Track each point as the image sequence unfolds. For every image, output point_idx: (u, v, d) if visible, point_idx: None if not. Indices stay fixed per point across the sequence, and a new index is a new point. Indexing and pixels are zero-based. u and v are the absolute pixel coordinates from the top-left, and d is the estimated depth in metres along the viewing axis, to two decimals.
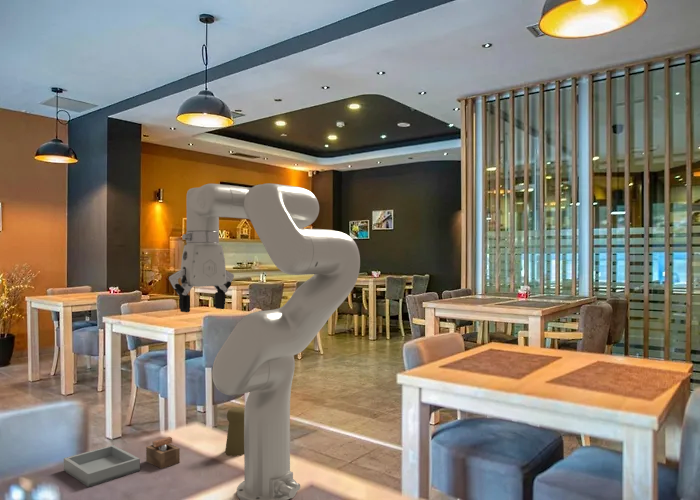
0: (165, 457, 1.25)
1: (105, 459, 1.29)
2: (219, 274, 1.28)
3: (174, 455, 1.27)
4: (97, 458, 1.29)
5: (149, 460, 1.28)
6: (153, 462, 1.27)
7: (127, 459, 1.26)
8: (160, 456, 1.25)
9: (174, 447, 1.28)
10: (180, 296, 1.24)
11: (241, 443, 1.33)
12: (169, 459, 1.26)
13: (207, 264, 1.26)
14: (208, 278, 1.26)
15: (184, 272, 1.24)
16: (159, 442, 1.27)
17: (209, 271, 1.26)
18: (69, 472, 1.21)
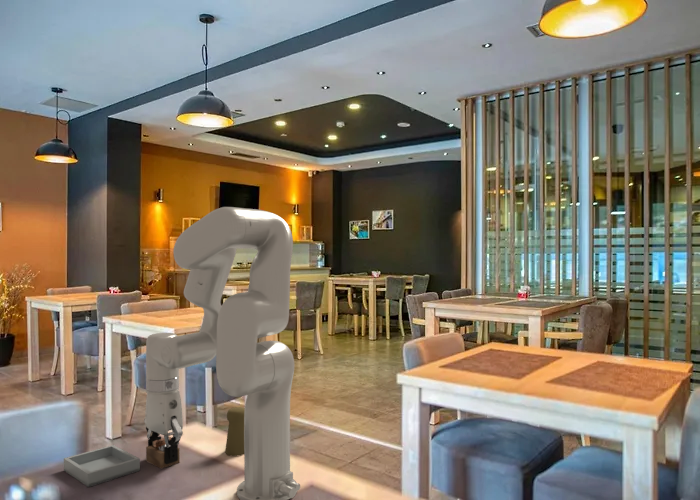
0: None
1: (105, 459, 1.29)
2: None
3: None
4: (97, 458, 1.29)
5: (149, 460, 1.28)
6: (153, 461, 1.27)
7: (127, 459, 1.26)
8: (160, 456, 1.25)
9: None
10: (172, 448, 1.25)
11: (241, 443, 1.33)
12: None
13: None
14: None
15: None
16: (159, 442, 1.27)
17: None
18: (69, 472, 1.21)
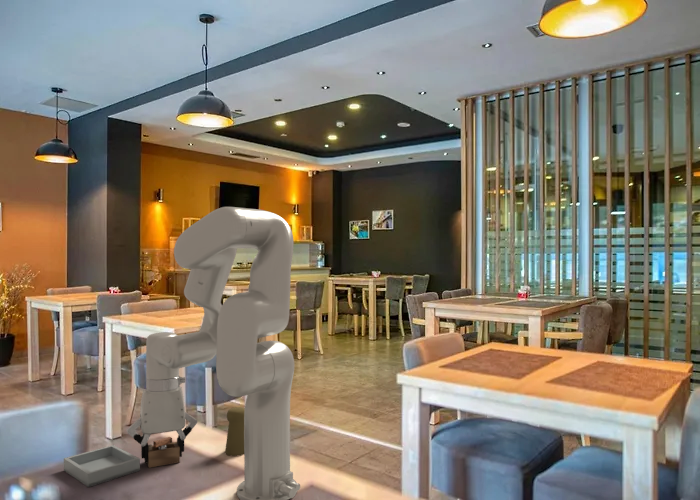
0: None
1: (105, 459, 1.29)
2: None
3: None
4: (97, 458, 1.29)
5: (155, 464, 1.25)
6: (164, 462, 1.26)
7: (127, 459, 1.26)
8: (177, 450, 1.28)
9: (171, 443, 1.31)
10: (183, 439, 1.30)
11: (241, 443, 1.33)
12: None
13: None
14: None
15: None
16: (159, 442, 1.27)
17: None
18: (69, 472, 1.21)
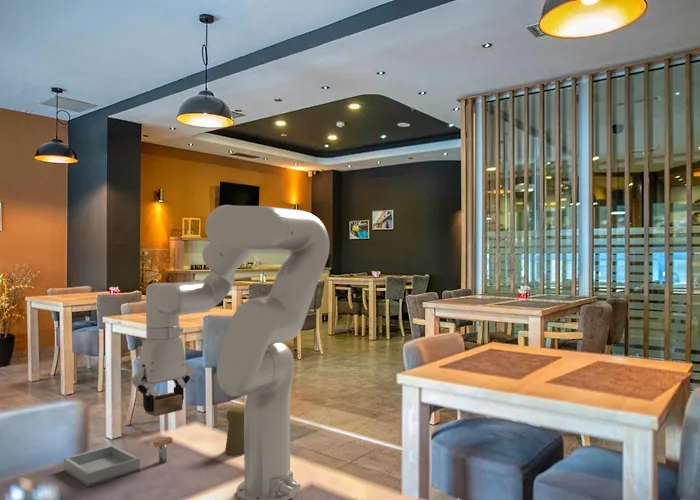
0: None
1: (105, 459, 1.29)
2: None
3: None
4: (97, 458, 1.29)
5: (161, 412, 1.25)
6: (169, 410, 1.27)
7: (127, 459, 1.26)
8: (180, 398, 1.29)
9: (168, 393, 1.31)
10: None
11: (241, 443, 1.33)
12: None
13: None
14: None
15: None
16: (159, 442, 1.27)
17: None
18: (69, 472, 1.21)
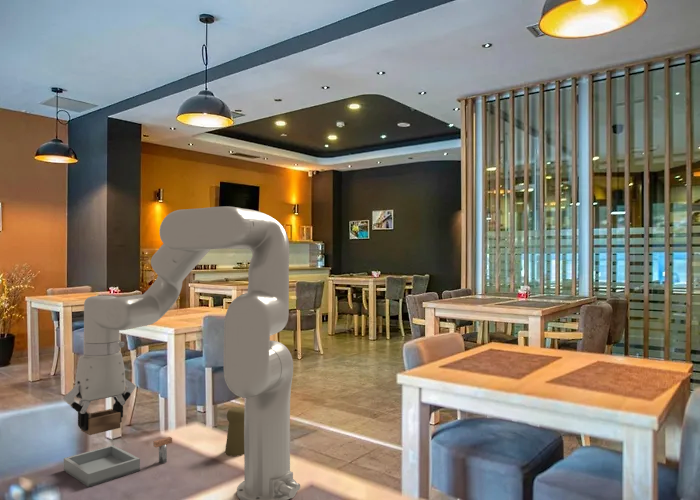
0: None
1: (105, 459, 1.29)
2: None
3: None
4: (97, 458, 1.29)
5: (97, 430, 1.21)
6: (105, 428, 1.22)
7: (127, 459, 1.26)
8: (118, 415, 1.24)
9: (106, 410, 1.27)
10: None
11: (241, 443, 1.33)
12: None
13: None
14: None
15: None
16: (159, 442, 1.27)
17: None
18: (69, 472, 1.21)
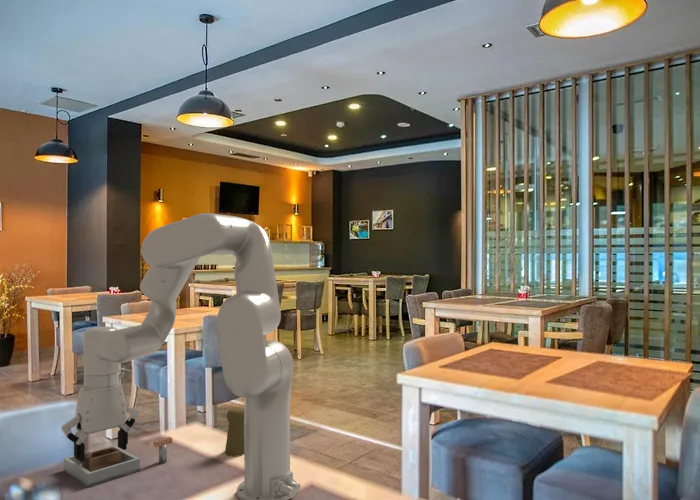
0: None
1: None
2: None
3: None
4: None
5: None
6: None
7: (127, 459, 1.26)
8: (119, 454, 1.24)
9: (107, 448, 1.26)
10: None
11: (241, 443, 1.33)
12: None
13: None
14: None
15: None
16: (159, 442, 1.27)
17: None
18: (69, 472, 1.21)
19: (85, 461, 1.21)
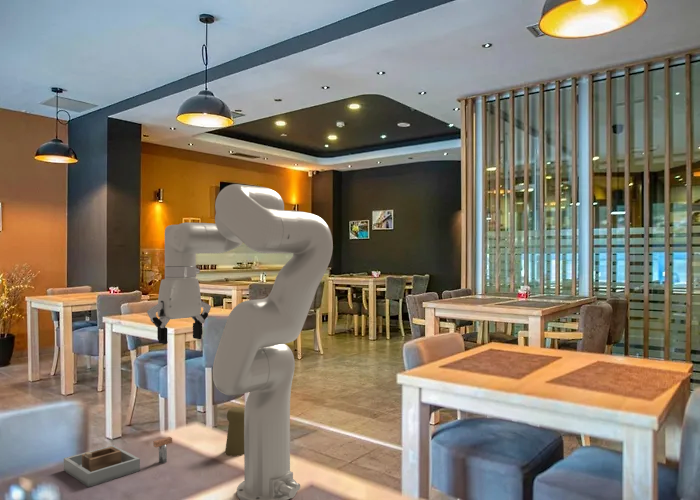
0: None
1: None
2: None
3: None
4: None
5: None
6: None
7: (127, 459, 1.26)
8: (119, 454, 1.24)
9: (107, 448, 1.26)
10: None
11: (241, 443, 1.33)
12: None
13: None
14: None
15: None
16: (159, 442, 1.27)
17: None
18: (69, 472, 1.21)
19: (85, 461, 1.21)
